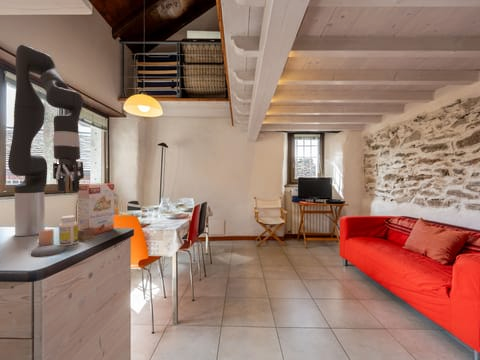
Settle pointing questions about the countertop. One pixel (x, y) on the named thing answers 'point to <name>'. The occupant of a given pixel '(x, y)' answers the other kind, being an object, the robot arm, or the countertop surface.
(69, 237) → the supplement bottle
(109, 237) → the countertop surface
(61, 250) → the slate pad
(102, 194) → the cracker box
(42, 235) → the salmon orange block
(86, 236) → the walnut block
